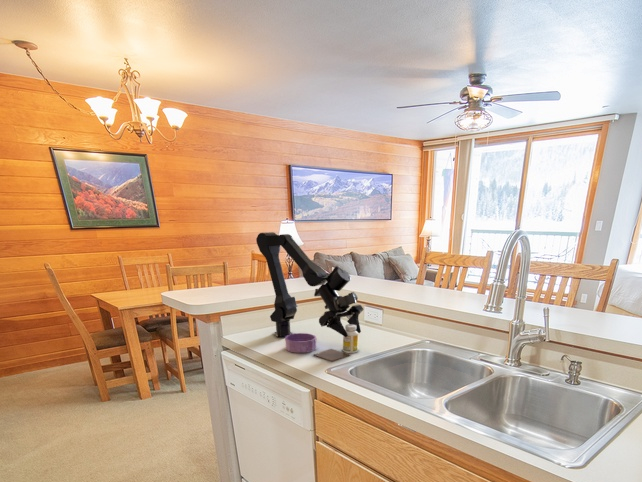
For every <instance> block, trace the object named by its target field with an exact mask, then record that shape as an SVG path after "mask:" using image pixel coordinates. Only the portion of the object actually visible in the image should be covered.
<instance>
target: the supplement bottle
mask: <svg viewBox="0 0 642 482" xmlns="http://www.w3.org/2000/svg"><path fill="white" fill-rule="evenodd" d="M344 329H345V330H346V332H347V335H348V336H347V337H345V336H343V335H342V352H343V353H345V354H355V353H357V352H358V350H359V349H358V348H359V347H358V344H359V333H358V332H357V331H356V329H357V328H356V325H353V324H349V323H348V324H345V326H344Z"/></svg>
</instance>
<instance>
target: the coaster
mask: <svg viewBox="0 0 642 482" xmlns="http://www.w3.org/2000/svg"><path fill="white" fill-rule="evenodd" d="M313 356H314V357H317V358H320V359H324V360H326V361H330V362H335V361H337V360H340V359H344V358H347V357H349V356H350V353H346V352H343V351H339V350H336V349H328V350H325V351H321V352H318V353H315V354H313Z"/></svg>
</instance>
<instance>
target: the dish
mask: <svg viewBox="0 0 642 482" xmlns="http://www.w3.org/2000/svg"><path fill="white" fill-rule="evenodd" d="M284 347H285V348H284V349H285V350H286V351H288V352H291V353H295V354H305V353H310V352H313V351H316V349H317V336H316V335H314V334H312V333H306V332H296V333H295V332H294V333H292V334H290V335H287V336H286V337H284Z"/></svg>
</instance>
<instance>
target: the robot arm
mask: <svg viewBox="0 0 642 482" xmlns="http://www.w3.org/2000/svg"><path fill="white" fill-rule="evenodd" d="M255 240H256V246H257V247H258V250H259V252H260V254H261V255H263V257H264V258H265V260H266V264H267V268H268V272H269V276H270V279H271V284H272V286H273V290H274V293H275V297H274V298H275V299H274V302H273V305H274V306H273V307H274V311H273V312H272V313H271V314H270V315H269V317H270V321H271V322H274V323H275V331H274V332H273V333H274V335H275V337H276V338H285V337H286V336H287V335H290V334H293V333H292V332H291V320H294V318H295V316H296V313H297V312H298V309H297V308H298V304H297V302H296V301H297V300H296V297H295V296H291V295H290V293H289V291H288V288H287V283H286V279H285V275H284V271H283V268H282V263H281V260H280V251H281V247H282V248H283V250H284V251H285V252H286V254H288V256H289V257H290V258H291V259H292V260H293V262H294V263H295V264H296V265H297V266H298V267H299V269H300V270H301V273H302V277H303V279H304V280H305V282H306V284H307V285H308V286H309V287H318V288H315V290H314V294H313V296H314V297H320V298H321V299H322V301H323V303H324V304H325V305H324V308H325V310H326V311H324V312H323V314H322V315H321V316H320V317H319V318H318V324H319V325H320V326H321V327H326V328H330V329H331V330H333V331H335V332H336V333H338V334H339V335H341V336H342V337H343V336H345V337H347V336H348V335H347V332H346V329H345V326H344V325H343V323H342V321H341V318H345V317H346V318H347V321H346V322H347V323H348V324H353V325H356V328H357V329H356V331H357V332H358V334H360V333H361V332H362V330H361V329H362V328H361V325H360V322H359V321H360V319H359V316H360V314H361V313H362V312H363V311H364V308H363V306H362V304H357V301H358V295H357V293H355V292H354V291H353V292H349V293H348V294H346V295H339V294H338V292H341V290H343V288H344V287H345V286H346V285H347V284H348V283H350V281H351V280H352V279H351V275H350V273H349V272H348V271H346V270H345V269H344V268H342V267H341V266H340V265H337V266H335V267H334V268H333V270H332V271H331V272H330V273H329V272H327V271H326V270H325V269H324V268H322V267H321V266H320V265H319V264H317V263H315V262H313V261H312V260H311V258H309V256H308V255H307V254H306V253H305V251H304V250H303V249H302V248H301V247H300V246H299V244H298V243H297V242H296V241H295V240H294V237H293V236H292V235H291V234H289V233H283V234H282V233H281V234H276V232H273V231H270V232H260V233H258V234H257V236H256V239H255ZM337 291H338V292H337ZM353 304H354V305H353Z"/></svg>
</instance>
